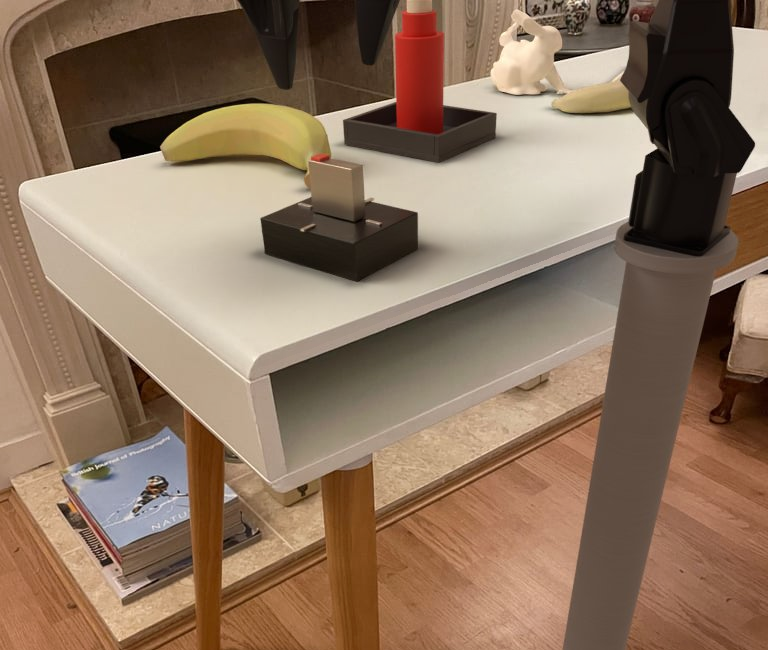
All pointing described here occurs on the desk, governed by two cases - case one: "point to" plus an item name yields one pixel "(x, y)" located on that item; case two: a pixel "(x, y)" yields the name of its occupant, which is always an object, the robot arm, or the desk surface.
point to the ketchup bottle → (419, 69)
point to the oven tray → (420, 133)
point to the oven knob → (337, 187)
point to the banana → (250, 135)
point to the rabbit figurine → (528, 59)
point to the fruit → (594, 99)
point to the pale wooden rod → (618, 77)
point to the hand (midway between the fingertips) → (329, 76)
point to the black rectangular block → (340, 238)
